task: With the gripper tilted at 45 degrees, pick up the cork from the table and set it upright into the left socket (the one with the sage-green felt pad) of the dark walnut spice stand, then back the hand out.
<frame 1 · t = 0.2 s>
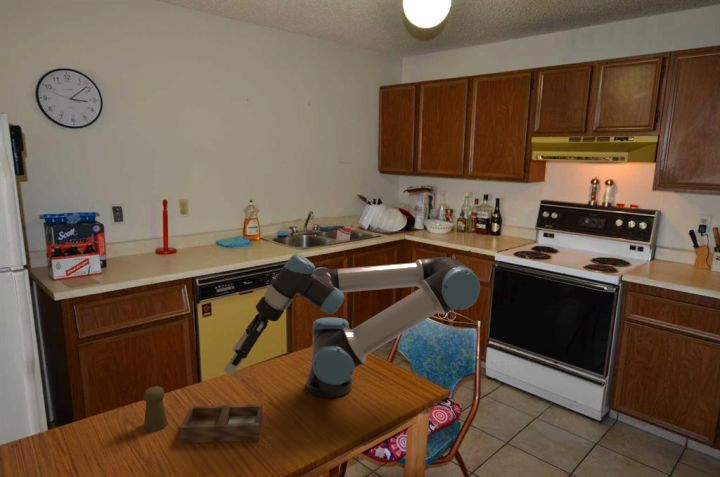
hand: (231, 361, 130), 16 cm above the table, tool tilted 35°, fingers open, 13 cm apart
cork: (155, 426, 126), on the table
spice stand: (223, 430, 124), on the table
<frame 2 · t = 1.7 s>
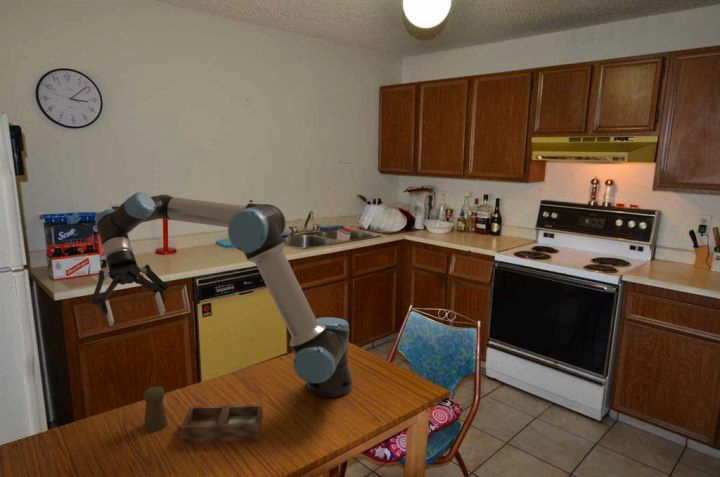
hand: (138, 318, 128), 28 cm above the table, tool tilted 45°, fingers open, 13 cm apart
nothing on the table moved.
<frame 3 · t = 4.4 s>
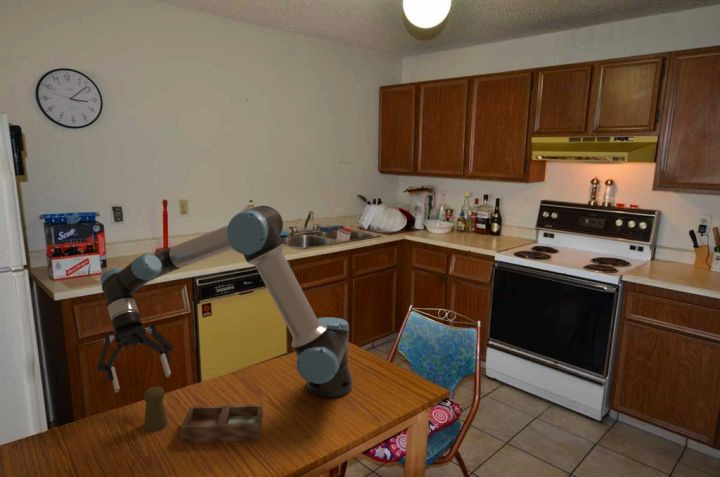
hand: (144, 383, 127), 10 cm above the table, tool tilted 45°, fingers open, 13 cm apart
nothing on the table moved.
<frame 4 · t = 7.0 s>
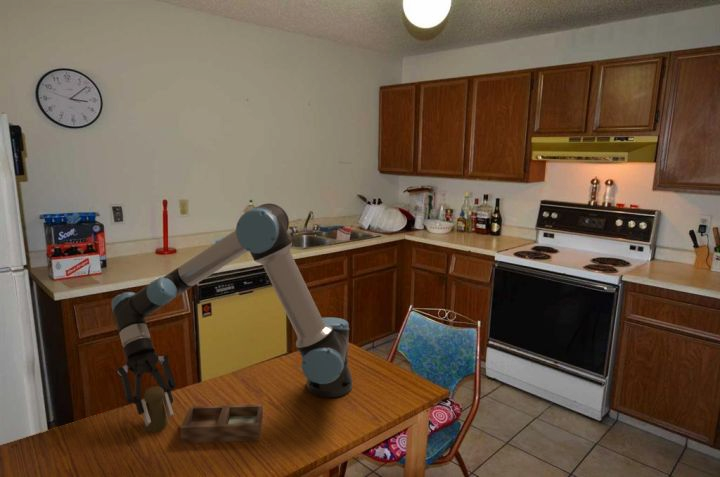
hand: (160, 419, 122), 4 cm above the table, tool tilted 45°, fingers closed on cork, 5 cm apart
cork: (155, 426, 126), on the table, touching gripper
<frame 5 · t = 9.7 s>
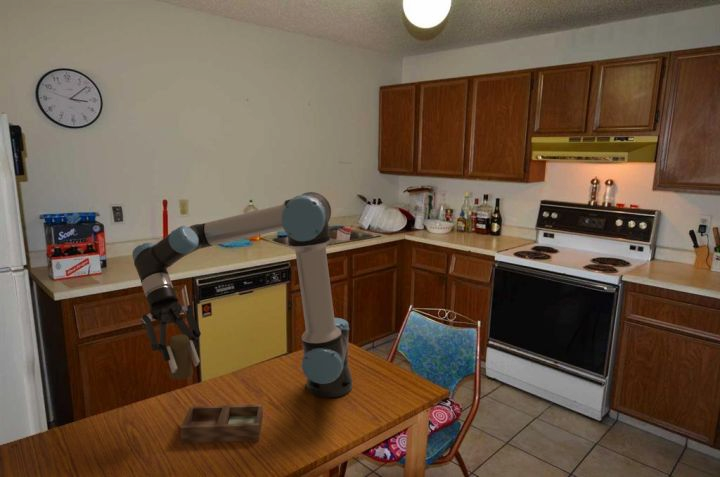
hand: (186, 367, 119), 19 cm above the table, tool tilted 45°, fingers closed on cork, 5 cm apart
cork: (181, 375, 123), point 15 cm above the table, touching gripper
when the fingers open (6 cm above the table, at t = 12.8 s): cork stays where it is, resting on spice stand.
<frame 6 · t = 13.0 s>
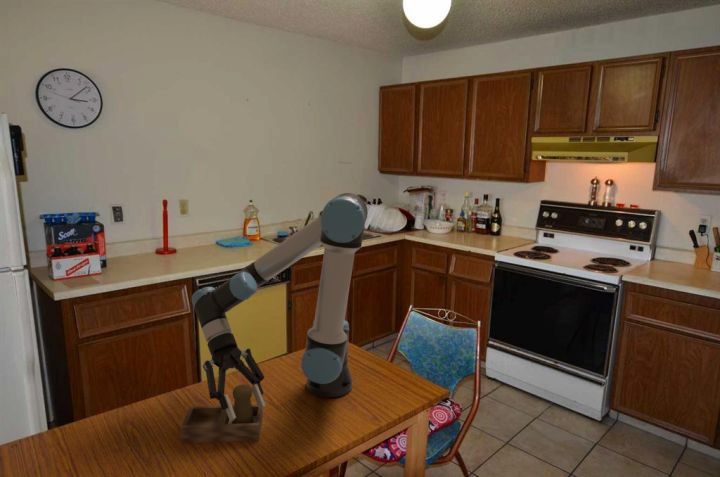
hand: (248, 413, 121), 7 cm above the table, tool tilted 45°, fingers open, 8 cm apart
cork: (242, 424, 125), point 2 cm above the table, touching spice stand
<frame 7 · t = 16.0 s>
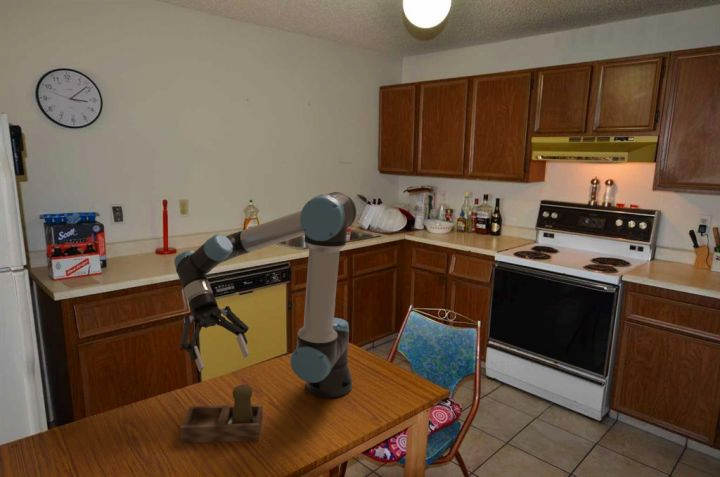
hand: (225, 362, 128), 16 cm above the table, tool tilted 45°, fingers open, 13 cm apart
nothing on the table moved.
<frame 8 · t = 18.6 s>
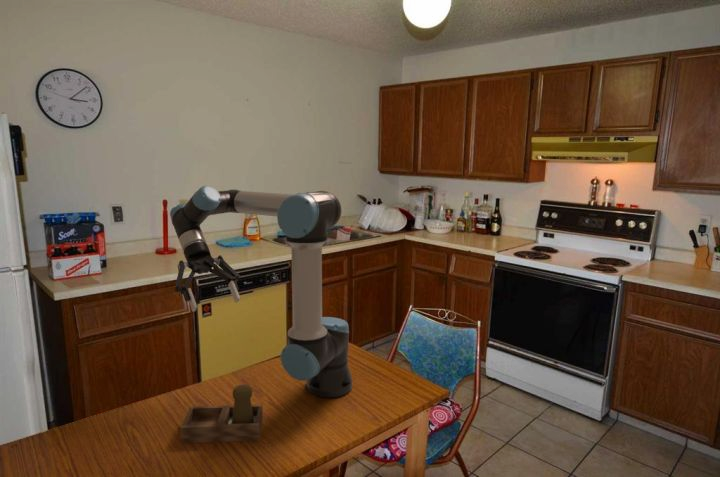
hand: (217, 305, 136), 30 cm above the table, tool tilted 45°, fingers open, 13 cm apart
nothing on the table moved.
at the end: cork 0.2 cm from the target spot on the spice stand, point 1.5 cm above the spice stand's base; cork tilted 0°; the gripper is holding nothing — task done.
